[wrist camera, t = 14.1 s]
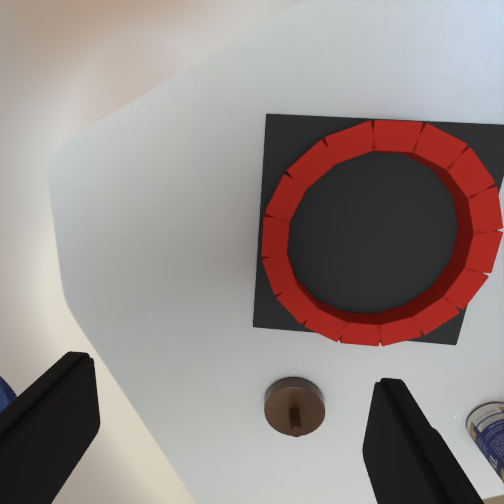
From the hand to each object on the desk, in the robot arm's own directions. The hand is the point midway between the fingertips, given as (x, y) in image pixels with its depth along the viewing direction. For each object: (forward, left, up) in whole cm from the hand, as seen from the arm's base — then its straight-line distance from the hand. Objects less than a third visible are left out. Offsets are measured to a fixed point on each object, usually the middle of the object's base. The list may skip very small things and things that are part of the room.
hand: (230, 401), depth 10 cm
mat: (+10, +2, -20) cm, 22 cm away
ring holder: (+5, -17, -20) cm, 27 cm away
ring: (+10, +2, -19) cm, 22 cm away
